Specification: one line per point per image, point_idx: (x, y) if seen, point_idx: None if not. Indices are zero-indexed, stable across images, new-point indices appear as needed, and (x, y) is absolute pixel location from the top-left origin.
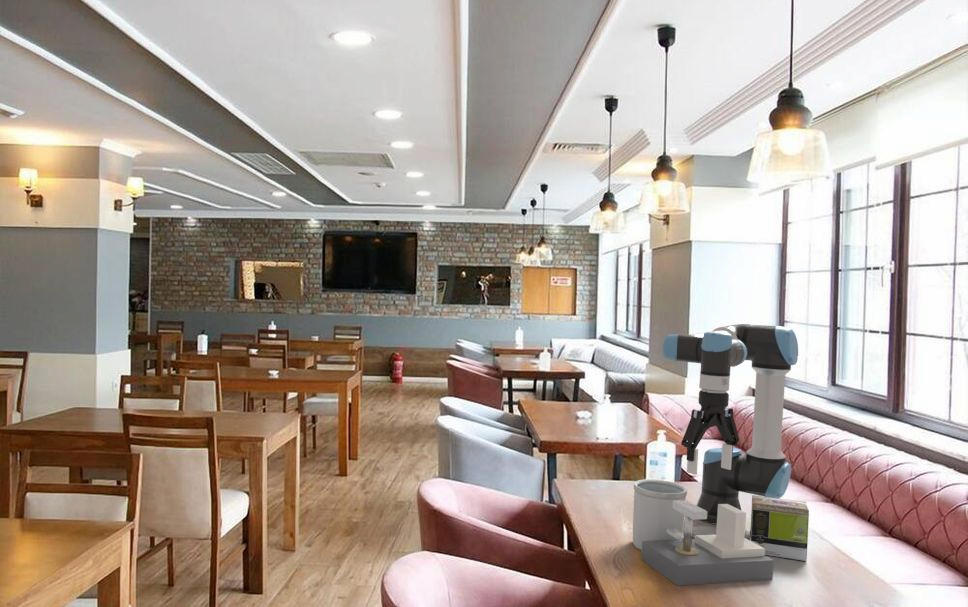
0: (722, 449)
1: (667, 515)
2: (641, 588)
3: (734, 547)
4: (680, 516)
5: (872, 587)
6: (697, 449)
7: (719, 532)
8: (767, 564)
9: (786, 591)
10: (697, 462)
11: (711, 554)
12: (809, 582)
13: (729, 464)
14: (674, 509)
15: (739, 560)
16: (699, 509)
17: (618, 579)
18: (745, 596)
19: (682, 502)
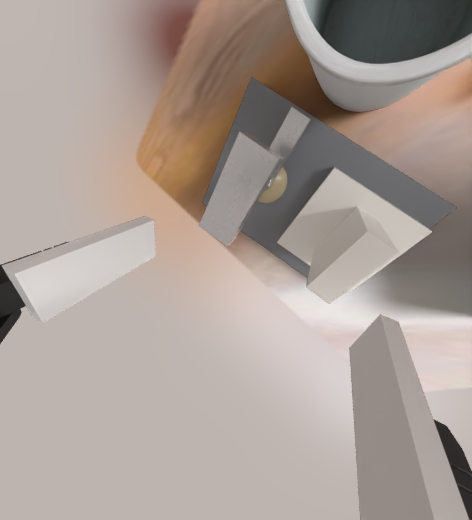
0: (411, 449)
1: (320, 76)
2: (175, 169)
3: (312, 253)
4: (368, 98)
5: None
6: (38, 319)
7: (348, 220)
8: None
9: (303, 298)
10: (114, 280)
11: (285, 219)
12: (362, 319)
13: (352, 372)
14: (338, 86)
15: (292, 260)
16: (225, 228)
17: (170, 128)
18: (250, 265)
19: (246, 165)
